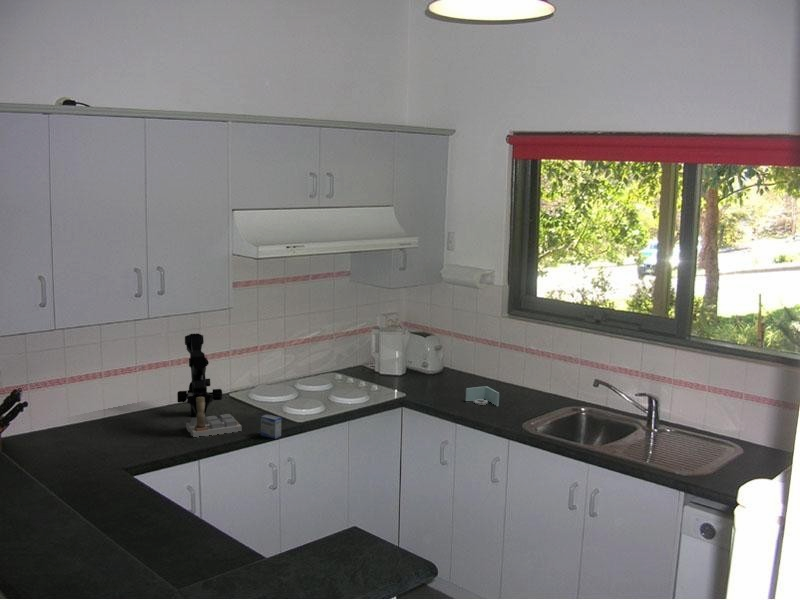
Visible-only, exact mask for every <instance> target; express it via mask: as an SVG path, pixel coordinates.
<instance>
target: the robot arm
mask: <svg viewBox="0 0 800 600" xmlns="http://www.w3.org/2000/svg"><path fill="white" fill-rule="evenodd" d="M184 345H185V346H186V347H185V348H186V351H187V352H188V353H189V357H190V358H189V357H188V367H189V368H190V373H191V382H190V383H189V385H188V390H178V391H177V395H176V396H177V398H176V399H177V403H186V402H187V404H189V405H190V407H189V408H190V411H188V414H189V415H190V417H192V418H195V417H197V409H196V398H197V397H205V416H206V414H207V411H208V408H209V405H210V404H211V403H213V400H214V401H221V400H223V399H222V398H223V390H222V388H212V392H211V391H210V392H208V391H207V390H208V388H207V387H211V378H207V377H206V370H207V367H208V365H209V362H210V361H209V359H207V357H206V354H205V352H203V351H202V350H203V349H202V348H203V347H202V346H203V345H204V334H201V333H199V332H198V333H189V334H187V335H185V336H184Z"/></svg>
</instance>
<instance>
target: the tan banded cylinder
mask: <svg viewBox="0 0 800 600" xmlns="http://www.w3.org/2000/svg"><path fill="white" fill-rule="evenodd" d="M196 409H197V416H196V418H197V428H204V427H205V417H206V415H205V414H206V413H205V397H197V398H196Z"/></svg>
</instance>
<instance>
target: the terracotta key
mask: <svg viewBox="0 0 800 600" xmlns="http://www.w3.org/2000/svg"><path fill="white" fill-rule="evenodd" d="M194 427H195V430H196V432H197V431H204V430H207V427H206V426H205V427H204V428H197V426H194Z"/></svg>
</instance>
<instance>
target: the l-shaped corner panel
mask: <svg viewBox="0 0 800 600" xmlns="http://www.w3.org/2000/svg"><path fill="white" fill-rule="evenodd" d="M484 399H486V400H484ZM465 401H473V404H474V403H475V404H478V405H477V406H480V405H483V406H484V405H485V406H486V404H487V405H488V403H489V402H491V403H492V404H491V403H490V404H491V405H493V404H494V405H493V406H495V405H496V406H495V407H499V403H500V392H499V391H496V390H495V389H493V388H492V387H489V386H487V385H486V386H477V387H476V386H474V387H466V388H465ZM488 401H489V402H488ZM475 404H474V405H475Z"/></svg>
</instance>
